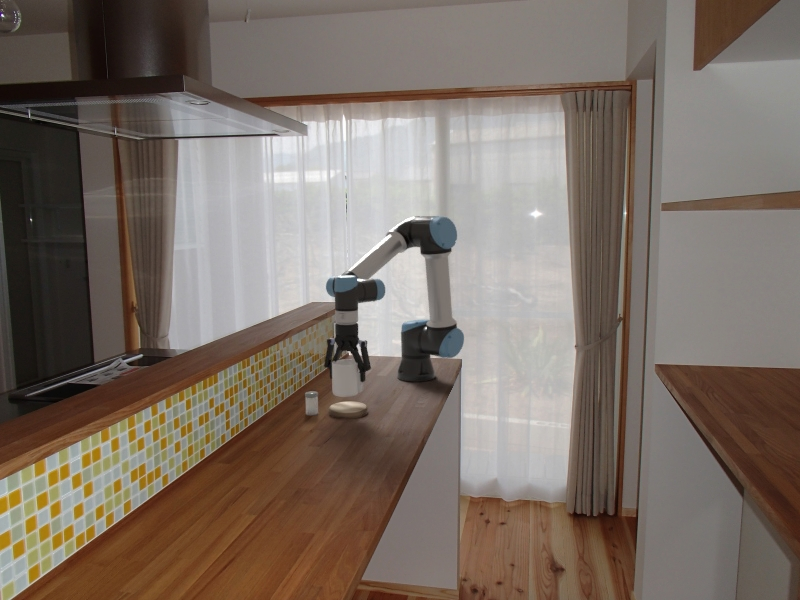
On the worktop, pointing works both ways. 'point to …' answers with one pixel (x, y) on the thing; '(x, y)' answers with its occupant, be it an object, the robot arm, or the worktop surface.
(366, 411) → the beige flat disc
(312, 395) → the spice jar
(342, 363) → the mug
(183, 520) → the worktop surface
